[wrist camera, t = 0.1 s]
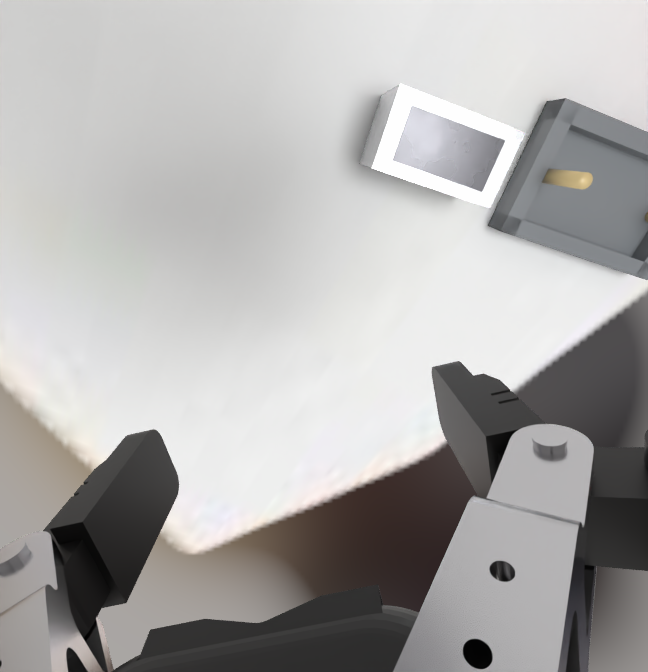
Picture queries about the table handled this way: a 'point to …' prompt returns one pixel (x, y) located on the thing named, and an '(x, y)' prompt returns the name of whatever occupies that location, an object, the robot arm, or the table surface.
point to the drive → (440, 145)
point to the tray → (581, 188)
